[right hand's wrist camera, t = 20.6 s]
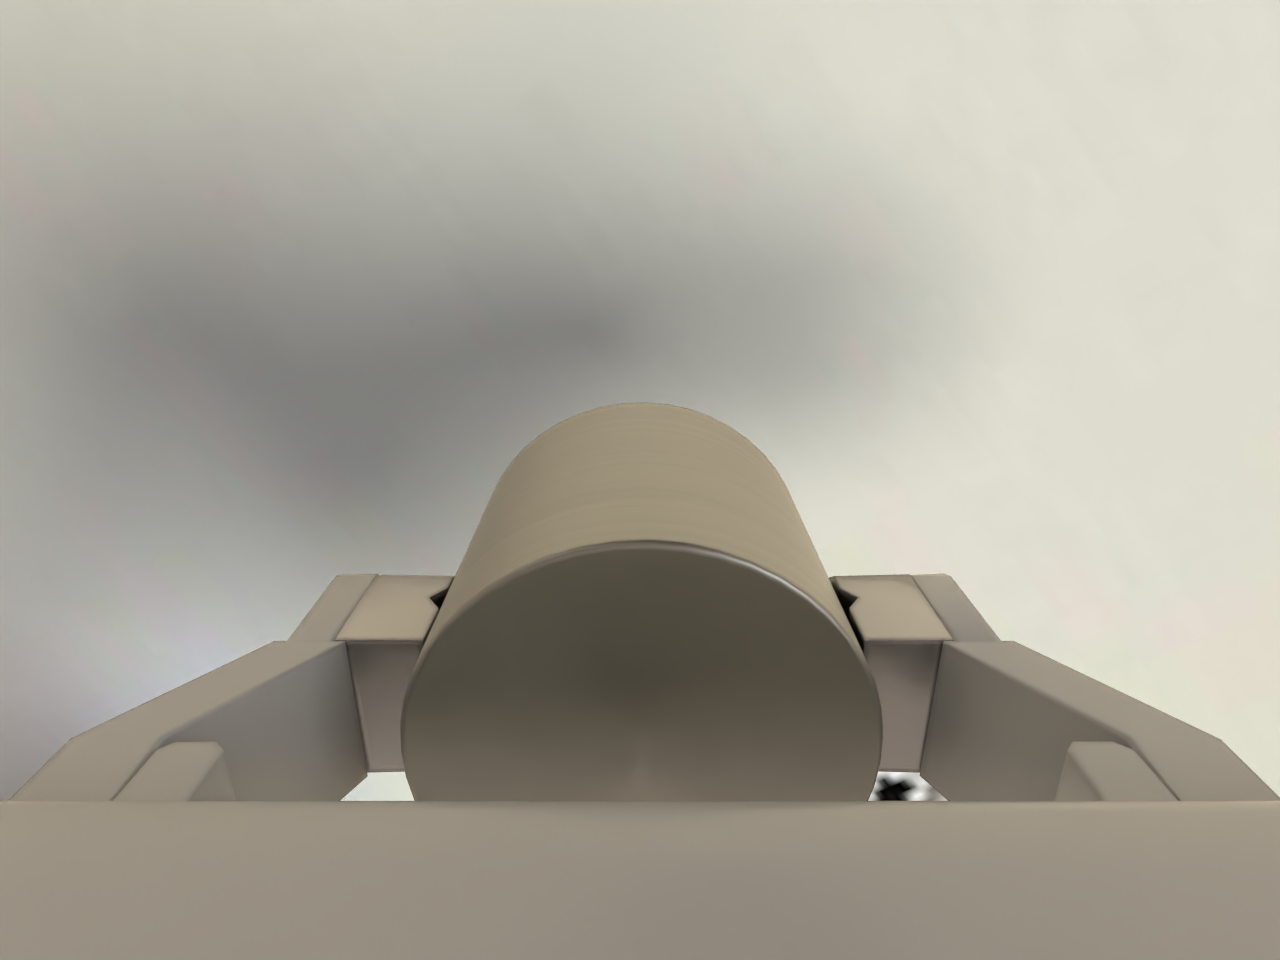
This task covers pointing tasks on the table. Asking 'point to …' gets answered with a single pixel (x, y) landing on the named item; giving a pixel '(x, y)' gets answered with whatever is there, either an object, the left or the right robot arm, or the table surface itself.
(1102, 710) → the right robot arm
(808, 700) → the tin
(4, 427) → the table surface
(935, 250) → the table surface
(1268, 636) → the table surface
